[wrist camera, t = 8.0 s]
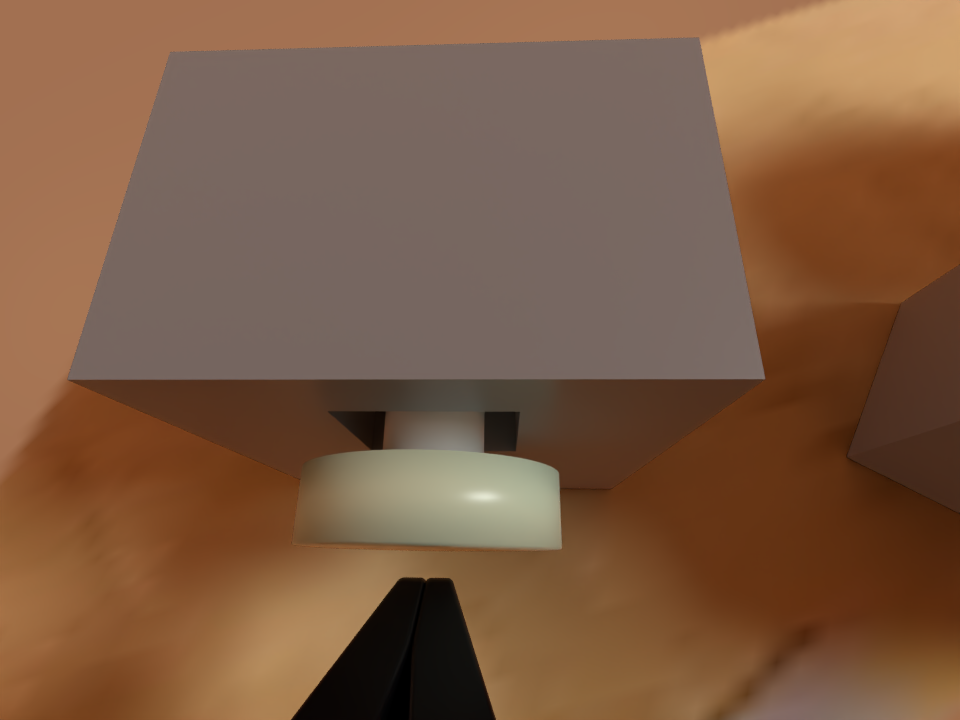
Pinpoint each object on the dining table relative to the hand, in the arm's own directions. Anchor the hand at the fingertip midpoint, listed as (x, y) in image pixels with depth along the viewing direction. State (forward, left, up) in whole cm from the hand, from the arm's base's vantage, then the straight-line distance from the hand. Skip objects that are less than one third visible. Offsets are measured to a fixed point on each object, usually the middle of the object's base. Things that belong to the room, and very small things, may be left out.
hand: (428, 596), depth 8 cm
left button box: (+1, +6, -7) cm, 9 cm away
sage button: (+1, +4, -2) cm, 4 cm away
